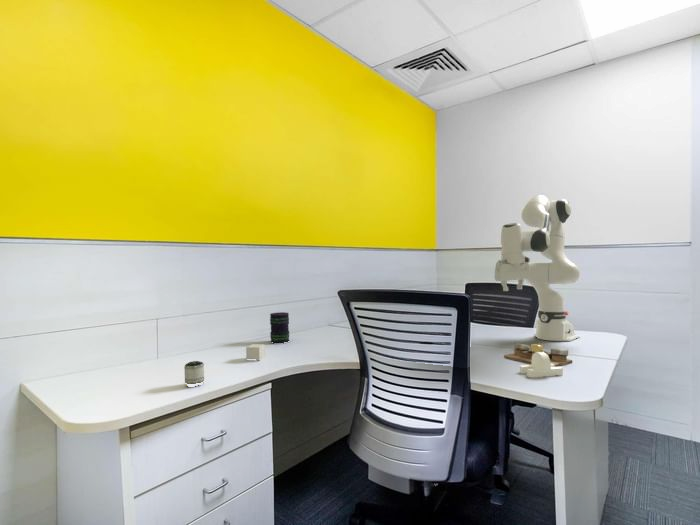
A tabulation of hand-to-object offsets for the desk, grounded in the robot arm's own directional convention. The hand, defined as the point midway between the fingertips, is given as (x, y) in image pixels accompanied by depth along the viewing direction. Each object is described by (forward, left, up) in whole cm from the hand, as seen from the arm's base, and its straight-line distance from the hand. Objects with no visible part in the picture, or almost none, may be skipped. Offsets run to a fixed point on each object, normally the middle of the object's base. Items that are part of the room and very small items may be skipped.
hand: (512, 290), depth 172 cm
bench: (+6, +15, -27) cm, 32 cm away
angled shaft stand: (+2, +22, -27) cm, 35 cm away
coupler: (+6, +15, -26) cm, 31 cm away
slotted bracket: (+21, +27, -28) cm, 44 cm away
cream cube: (+103, -52, -28) cm, 118 cm away
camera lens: (+131, -29, -28) cm, 137 cm away
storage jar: (+82, -81, -28) cm, 118 cm away
